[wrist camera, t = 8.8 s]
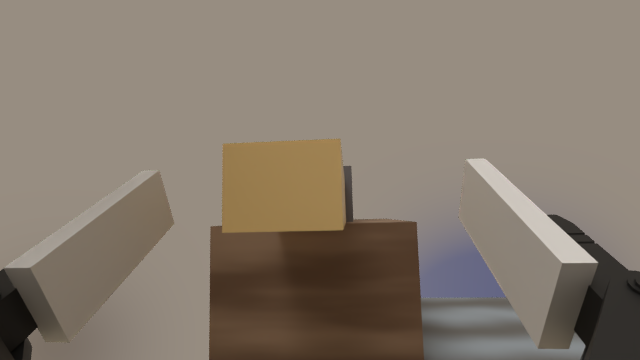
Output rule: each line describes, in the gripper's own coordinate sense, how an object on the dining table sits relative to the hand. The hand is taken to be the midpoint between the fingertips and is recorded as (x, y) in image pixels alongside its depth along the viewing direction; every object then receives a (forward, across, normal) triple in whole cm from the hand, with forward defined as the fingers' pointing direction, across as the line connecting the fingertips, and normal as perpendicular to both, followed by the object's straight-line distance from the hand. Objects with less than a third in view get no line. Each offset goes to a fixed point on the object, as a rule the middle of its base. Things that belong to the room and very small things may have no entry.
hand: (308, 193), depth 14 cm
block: (+4, 0, -4) cm, 6 cm away
